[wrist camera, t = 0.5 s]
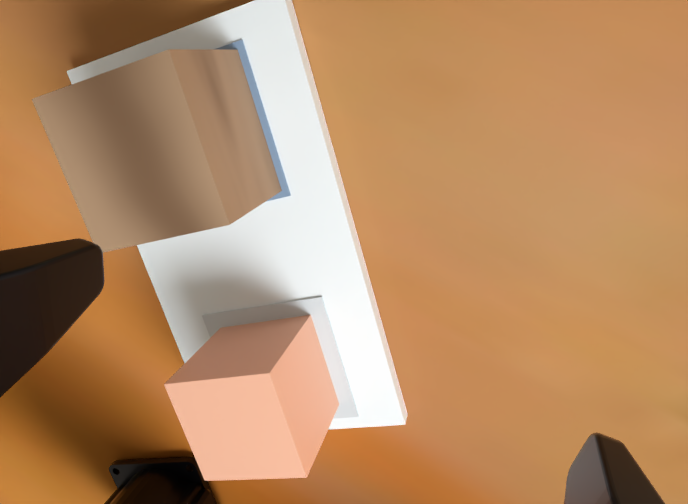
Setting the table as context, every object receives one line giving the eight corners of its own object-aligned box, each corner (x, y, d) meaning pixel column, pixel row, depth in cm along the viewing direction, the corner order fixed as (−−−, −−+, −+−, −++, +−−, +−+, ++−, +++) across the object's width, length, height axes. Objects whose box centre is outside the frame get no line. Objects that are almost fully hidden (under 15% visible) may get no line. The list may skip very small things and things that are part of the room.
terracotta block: (251, 411, 28) (204, 480, 23) (220, 327, 27) (164, 384, 22) (339, 404, 26) (306, 477, 22) (310, 314, 25) (269, 373, 20)
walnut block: (169, 217, 25) (97, 253, 21) (121, 89, 23) (31, 99, 19) (281, 190, 23) (229, 224, 19) (237, 49, 21) (168, 49, 17)
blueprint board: (221, 427, 30) (213, 437, 29) (79, 70, 25) (64, 71, 24) (407, 414, 27) (404, 425, 26) (289, -8, 21) (281, -11, 20)
